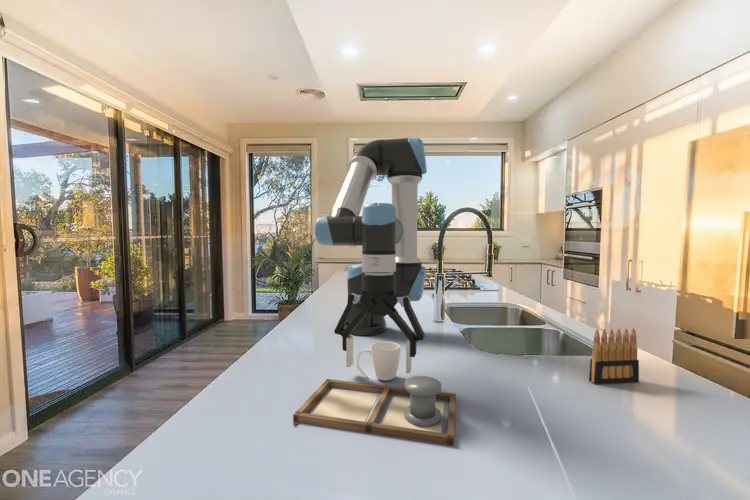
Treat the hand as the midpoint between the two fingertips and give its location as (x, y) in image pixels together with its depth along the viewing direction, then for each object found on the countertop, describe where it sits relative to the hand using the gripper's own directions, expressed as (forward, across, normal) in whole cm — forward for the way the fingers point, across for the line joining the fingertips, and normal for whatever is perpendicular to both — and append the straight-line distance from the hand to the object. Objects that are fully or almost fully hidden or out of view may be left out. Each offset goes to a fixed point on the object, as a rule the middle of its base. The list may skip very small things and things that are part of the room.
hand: (378, 368), depth 76 cm
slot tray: (+3, +4, -13) cm, 14 cm away
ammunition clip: (+3, +51, +13) cm, 53 cm away
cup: (+3, 0, 0) cm, 3 cm away
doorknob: (+2, +12, -14) cm, 18 cm away
